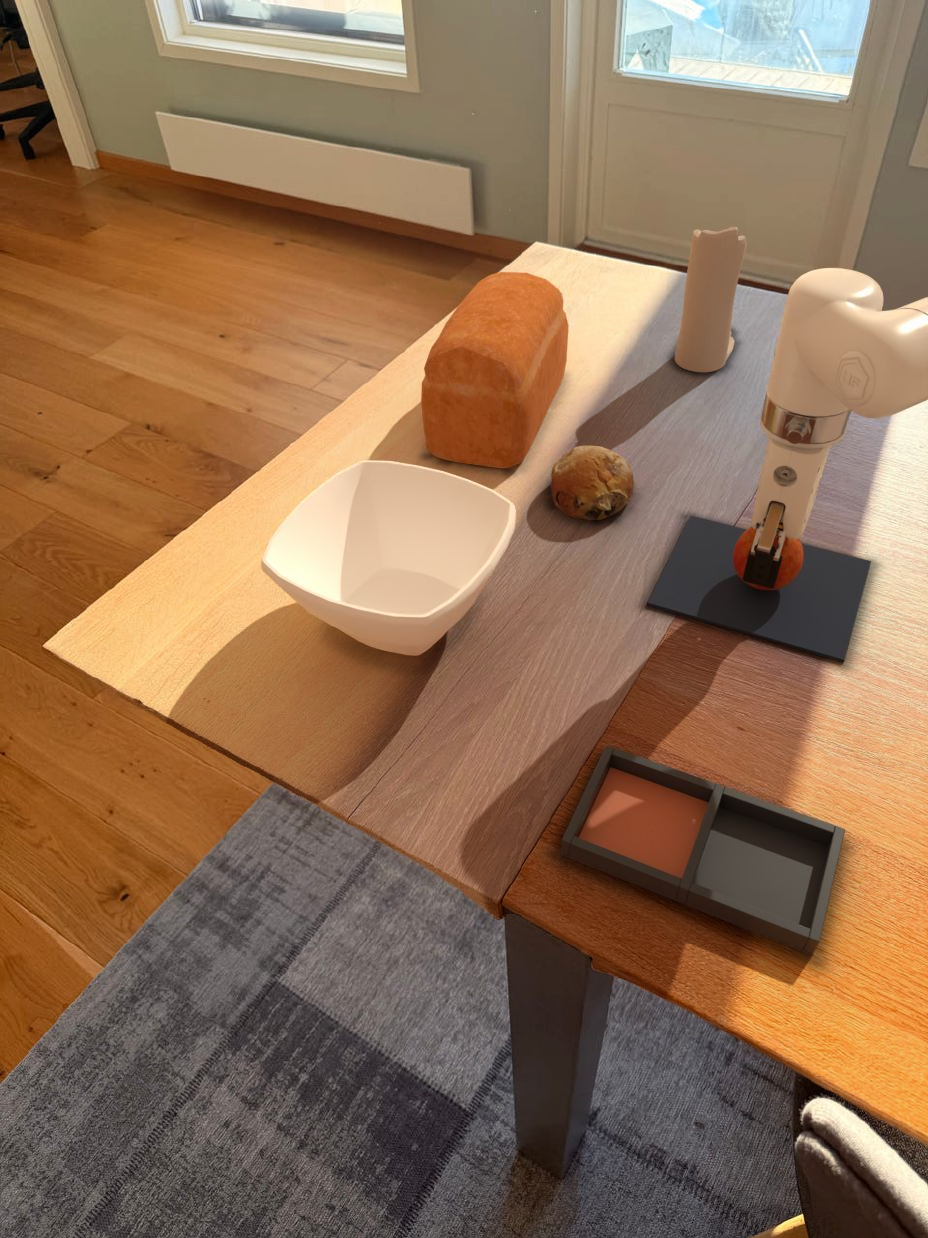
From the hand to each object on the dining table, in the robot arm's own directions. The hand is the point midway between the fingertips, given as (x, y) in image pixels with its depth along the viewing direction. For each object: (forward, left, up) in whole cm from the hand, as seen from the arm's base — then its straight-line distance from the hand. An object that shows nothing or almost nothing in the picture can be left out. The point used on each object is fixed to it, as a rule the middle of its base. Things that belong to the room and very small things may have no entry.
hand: (767, 559), depth 95 cm
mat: (0, 0, -4) cm, 4 cm away
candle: (+19, -47, -4) cm, 51 cm away
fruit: (0, 0, -3) cm, 3 cm away
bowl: (+33, +20, -4) cm, 39 cm away
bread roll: (+22, -7, -4) cm, 24 cm away
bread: (+40, -20, -4) cm, 45 cm away
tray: (-3, +34, -4) cm, 34 cm away
